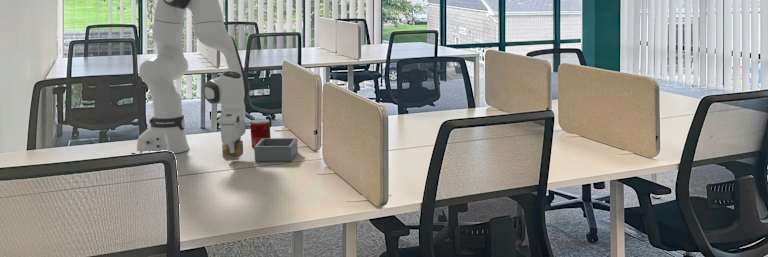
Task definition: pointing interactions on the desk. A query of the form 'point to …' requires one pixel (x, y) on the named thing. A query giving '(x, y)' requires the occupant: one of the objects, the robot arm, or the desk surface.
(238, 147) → the walnut block
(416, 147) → the desk surface
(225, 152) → the oak block
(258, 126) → the canned food
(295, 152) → the bin
